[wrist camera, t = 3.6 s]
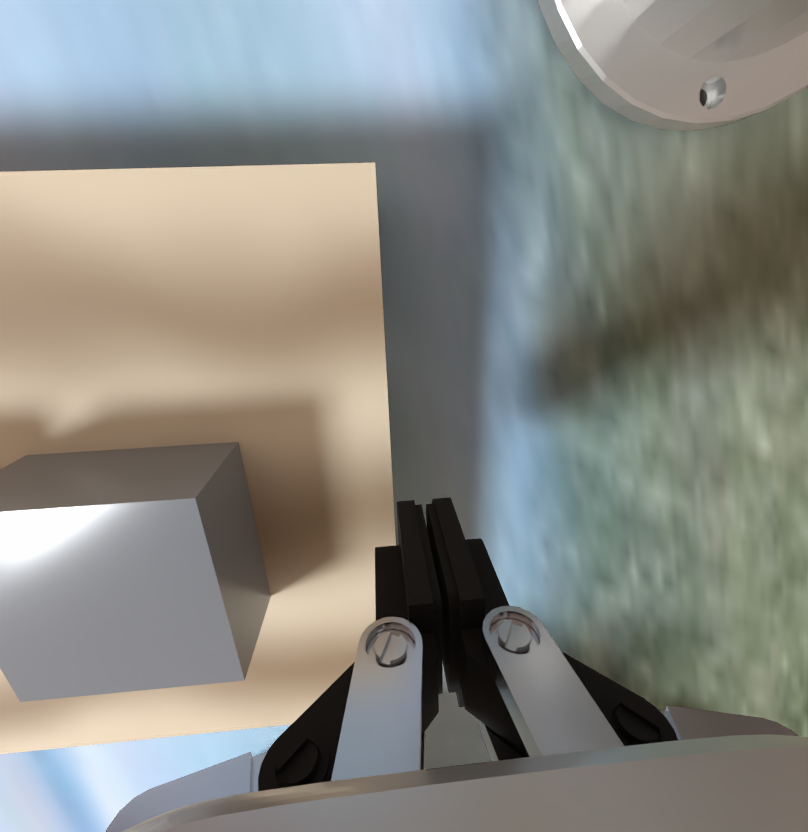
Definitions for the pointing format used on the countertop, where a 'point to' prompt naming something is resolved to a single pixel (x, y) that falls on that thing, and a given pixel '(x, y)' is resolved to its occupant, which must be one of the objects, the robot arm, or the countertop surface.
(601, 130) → the countertop surface
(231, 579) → the slate tile
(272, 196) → the board
